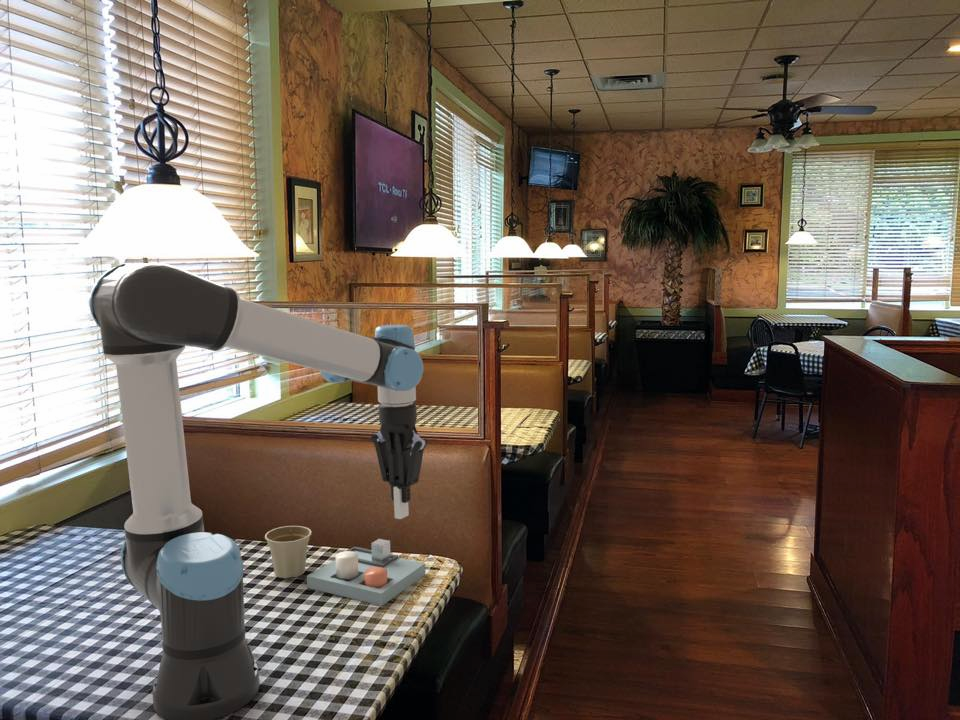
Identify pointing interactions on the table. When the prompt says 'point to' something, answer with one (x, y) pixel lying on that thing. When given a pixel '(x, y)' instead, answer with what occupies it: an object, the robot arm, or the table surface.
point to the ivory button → (346, 564)
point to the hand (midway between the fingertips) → (401, 516)
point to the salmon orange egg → (376, 577)
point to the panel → (398, 578)
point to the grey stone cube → (380, 551)
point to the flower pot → (288, 550)
